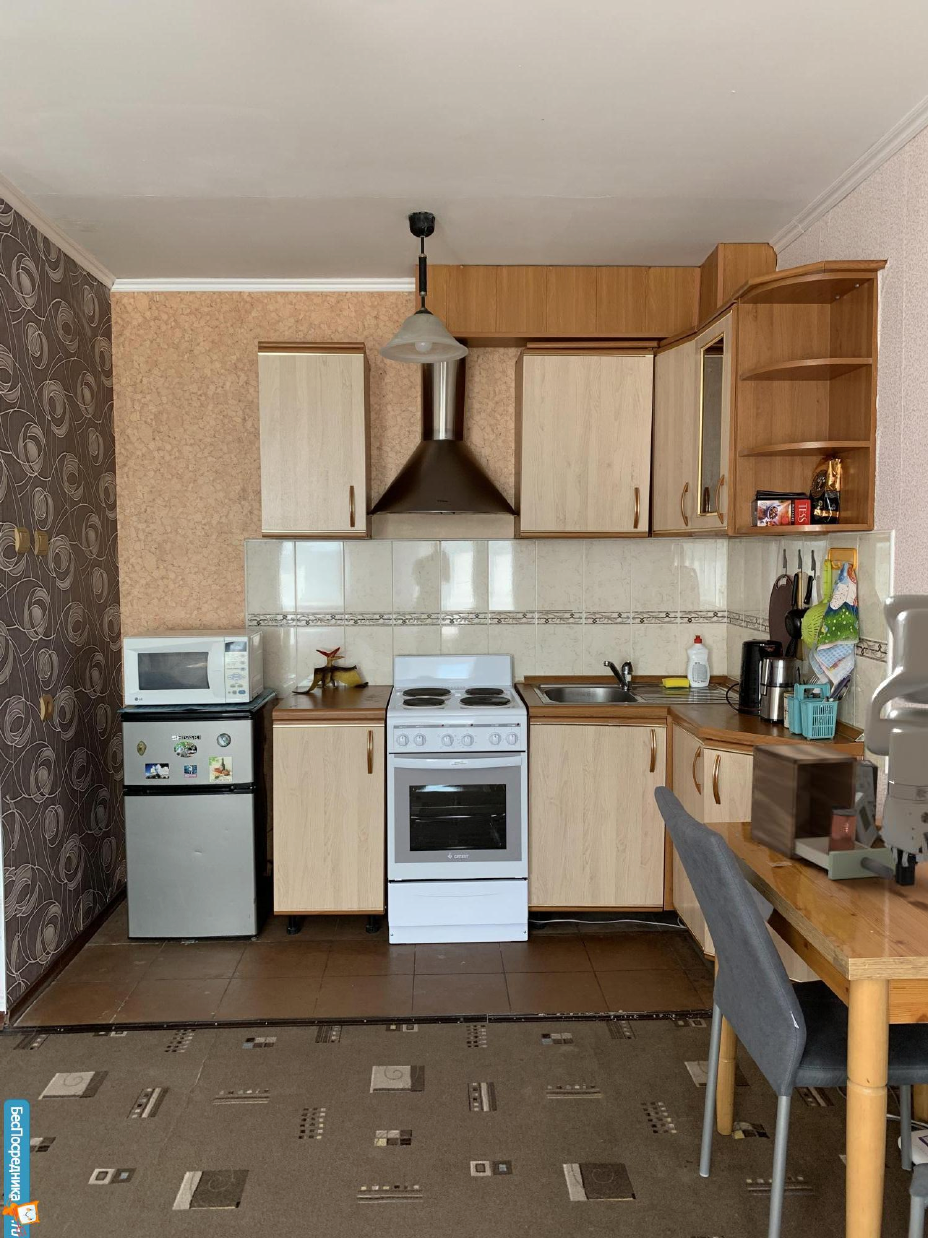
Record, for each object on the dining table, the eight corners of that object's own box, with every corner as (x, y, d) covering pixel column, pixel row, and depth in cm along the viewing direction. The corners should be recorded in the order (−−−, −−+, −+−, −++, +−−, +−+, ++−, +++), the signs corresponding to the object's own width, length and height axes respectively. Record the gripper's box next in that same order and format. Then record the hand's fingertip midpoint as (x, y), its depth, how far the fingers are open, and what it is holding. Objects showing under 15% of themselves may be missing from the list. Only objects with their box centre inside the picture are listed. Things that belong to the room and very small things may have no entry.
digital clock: (865, 854, 206) (867, 807, 205) (825, 846, 212) (827, 800, 211) (890, 840, 218) (892, 796, 217) (851, 832, 224) (853, 789, 223)
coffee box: (876, 832, 224) (879, 766, 224) (848, 830, 226) (850, 765, 225) (867, 822, 233) (870, 759, 233) (840, 820, 235) (843, 757, 234)
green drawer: (847, 851, 208) (848, 827, 207) (921, 886, 185) (922, 859, 185) (786, 855, 204) (787, 831, 204) (854, 891, 182) (855, 864, 181)
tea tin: (859, 859, 196) (862, 812, 195) (837, 859, 195) (840, 812, 194) (844, 851, 201) (847, 805, 201) (822, 852, 200) (825, 806, 199)
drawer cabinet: (809, 834, 222) (813, 743, 220) (853, 854, 206) (857, 757, 205) (750, 838, 218) (753, 745, 217) (789, 858, 202) (793, 759, 201)
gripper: (954, 800, 172) (949, 896, 173) (898, 781, 186) (894, 871, 187) (920, 801, 170) (915, 899, 171) (866, 783, 184) (862, 873, 185)
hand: (904, 884), depth 179 cm, fingers closed
